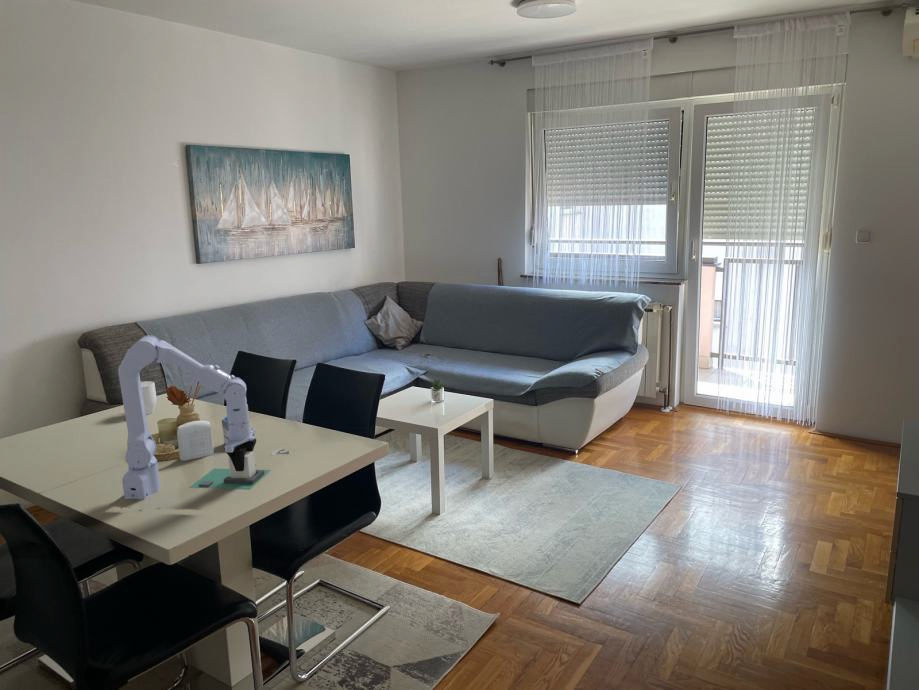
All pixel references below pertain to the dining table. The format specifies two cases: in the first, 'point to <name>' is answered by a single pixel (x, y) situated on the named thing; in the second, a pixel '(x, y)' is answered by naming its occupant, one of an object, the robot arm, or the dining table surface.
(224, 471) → the board
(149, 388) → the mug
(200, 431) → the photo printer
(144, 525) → the dining table surface
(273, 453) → the pliers
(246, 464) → the plug
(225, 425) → the milk carton
